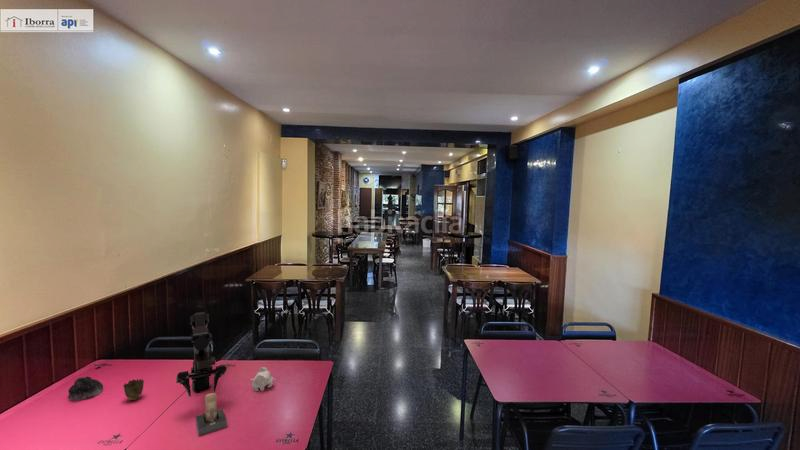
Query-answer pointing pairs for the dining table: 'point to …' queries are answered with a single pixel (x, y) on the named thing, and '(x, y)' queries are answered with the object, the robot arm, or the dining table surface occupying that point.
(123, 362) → the dining table surface
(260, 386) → the elephant figurine
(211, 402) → the keyed peg
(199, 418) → the block
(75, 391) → the dark grey rock
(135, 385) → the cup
